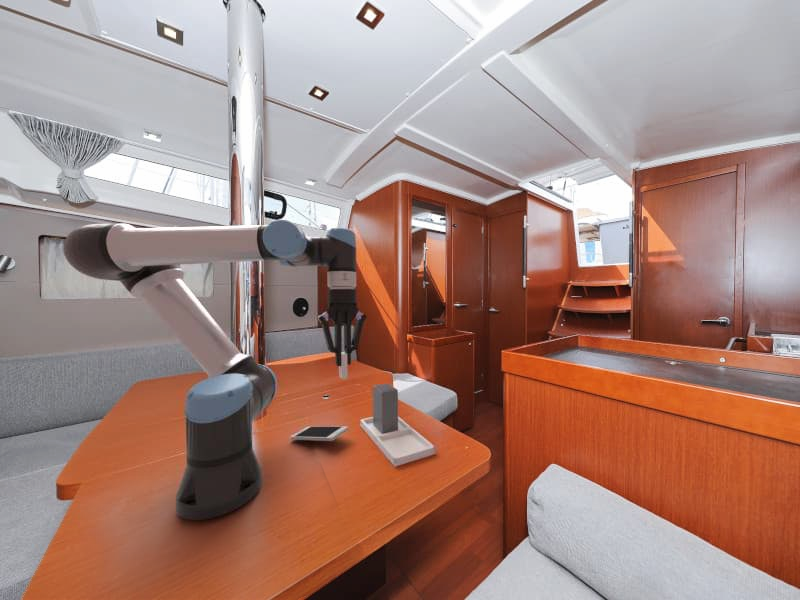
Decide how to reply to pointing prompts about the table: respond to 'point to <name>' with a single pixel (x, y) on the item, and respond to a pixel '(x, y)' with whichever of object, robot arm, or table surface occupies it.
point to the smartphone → (320, 433)
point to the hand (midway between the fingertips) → (343, 377)
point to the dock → (399, 442)
